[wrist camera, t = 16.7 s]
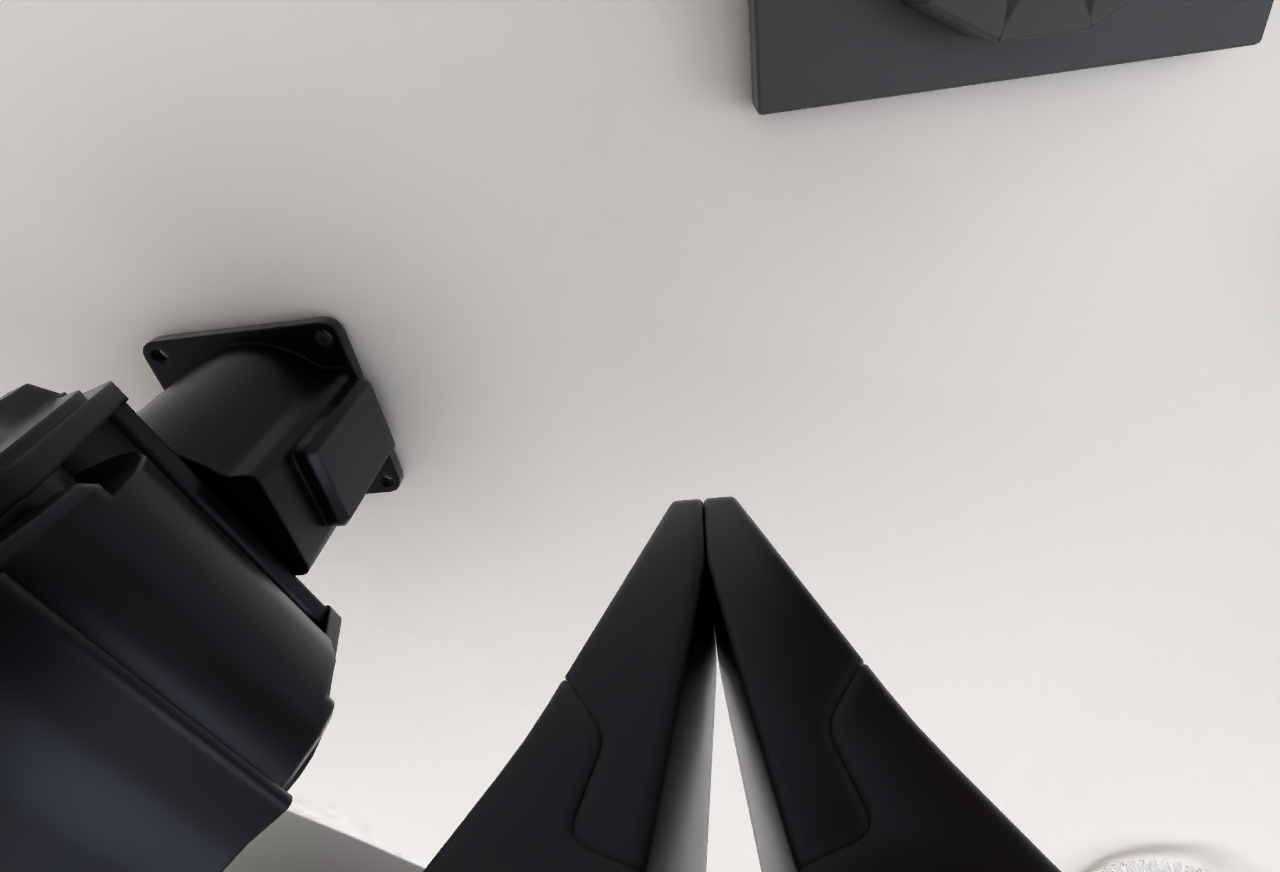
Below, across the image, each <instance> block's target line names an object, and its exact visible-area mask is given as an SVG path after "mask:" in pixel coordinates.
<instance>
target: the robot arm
mask: <svg viewBox="0 0 1280 872" xmlns="http://www.w3.org/2000/svg"><path fill="white" fill-rule="evenodd" d="M322 330H326V331H327V332H329V333H330V334H331V336H332V338H333V339H328V338H326V337H325V336H324V335H323V334H322ZM160 350H161V351H163V352H165V354H166V355H167V356H168V357H166V356H164V355H163V354H162V353H161V352H160ZM143 354H144V356H145V359H146V360H147V362H148V364H149V365H150V367H151V369H152V370H153V372H154V374H155V375H156V377H157V379H158V380H159V382H160V384H161V385H162V387H163V389H164V390H165V391H164V392H162V393H161V394H160V395H159V396H157V397H156V398H155V399H154V400H152V401H151V402H150V403H149V404H147V405H146V406H145V407H144V408H142V409H141V410H140V411H139V412H137V413H136V412H135V411H134V410H133V409H132V408H131V407H130V406H129V405H128V404H127V403H126V401H127V400H128V398H127V397H126V396H125V395H124V394H123V393H122V392H121V390H120V389H119V388H118V387H117V386H116V385H115V384H114V383H113V382H112V381H109V382H107V383H105V384H103V385H100V386H98V387H96V388H94V389H92V390H90V391H88V392H86V393H83V394H82V393H81V392H80V391H79V390H78V391H75V392H73V393H70V394H68V395H67V394H66V393H65V392H64V393H61V394H59V393H56V392H53V391H50V390H46V389H43V388H40V387H37V386H33V385H30V384H25V385H23V386H21V387H19V388H17V389H15V390H13V391H11V392H9V393H7V394H6V395H4V396H2V397H1V398H0V872H223V871H224V869H225V868H226V867H227V866H228V865H229V864H230V863H231V862H232V861H233V860H234V858H235V857H236V856H237V855H238V854H239V853H240V852H241V851H242V850H243V849H244V847H245V846H246V845H247V844H248V843H249V842H250V841H252V840H253V839H254V838H255V837H256V836H257V835H259V834H260V833H261V832H262V831H263V830H264V829H265V828H267V827H268V826H269V825H270V824H271V823H272V822H274V820H276V819H277V818H278V817H279V816H280V815H282V813H284V812H285V811H286V810H287V809H288V808H289V806H290V805H291V802H292V796H291V795H290V794H289V793H288V792H287V791H288V790H289V789H290V787H291V786H292V785H293V784H294V782H295V781H296V780H297V779H298V778H299V776H300V775H301V774H302V772H303V770H304V769H305V767H306V766H307V764H308V763H309V761H310V760H311V758H312V756H313V754H314V752H315V750H316V748H317V746H318V744H319V742H320V740H321V736H322V734H323V733H324V731H325V729H326V727H327V725H328V723H329V721H330V719H331V717H332V713H333V709H334V701H333V700H332V699H331V698H330V697H329V695H330V689H331V683H332V676H333V671H334V666H335V662H336V659H335V657H336V651H337V645H338V638H339V632H340V626H341V617H340V616H339V615H338V614H337V613H336V612H335V611H334V610H333V609H332V608H331V607H330V606H329V605H327V606H324V605H323V604H322V603H321V602H320V601H319V600H318V599H317V598H316V597H315V596H314V595H313V594H312V593H311V592H310V591H309V590H308V589H307V588H306V586H305V585H304V584H303V583H302V582H301V581H300V580H299V579H298V578H297V577H296V575H304V574H307V573H308V571H309V569H310V568H311V566H312V565H313V563H314V561H315V560H316V558H317V557H318V555H319V553H320V552H321V550H322V549H323V547H324V545H325V544H326V542H327V540H328V539H329V537H330V536H331V534H332V532H333V531H334V529H335V528H336V526H344V525H346V524H347V523H348V522H349V520H350V519H351V517H352V516H353V514H354V512H355V511H356V509H357V507H358V506H359V504H360V502H361V501H362V499H363V497H364V496H365V494H368V493H380V492H391V491H394V490H396V489H397V488H398V487H399V486H400V484H401V482H402V480H403V477H404V476H403V471H402V469H401V466H400V464H399V461H398V459H397V456H396V454H395V452H394V449H393V448H394V446H395V443H394V440H393V438H392V435H391V433H390V430H389V428H388V425H387V423H386V420H385V418H384V415H383V413H382V410H381V408H380V406H379V403H378V401H377V398H376V396H375V393H374V391H373V388H372V386H371V384H370V383H369V382H368V381H367V380H366V379H365V378H364V376H363V373H362V371H361V368H360V366H359V363H358V361H357V359H356V356H355V354H354V351H353V349H352V346H351V344H350V341H349V339H348V336H347V334H346V332H345V329H344V328H343V326H342V325H341V324H340V323H339V322H338V321H337V320H335V319H332V318H330V317H320V318H311V319H303V320H295V321H286V322H278V323H269V324H261V325H252V326H244V327H236V328H227V329H219V330H210V331H202V332H193V333H185V334H177V335H168V336H160V337H157V338H154V339H153V340H151V341H150V342H148V343H147V344H146V345H145V346H144V347H143ZM383 474H384V475H388V476H390V477H391V478H392V479H388V478H386V477H384V475H383ZM715 637H716V639H715ZM716 646H717V655H718V662H719V668H720V673H721V679H722V683H723V688H724V693H725V698H726V703H727V707H728V712H729V717H730V722H731V727H732V731H733V736H734V741H735V746H736V751H737V755H738V760H739V765H740V770H741V775H742V780H743V784H744V789H745V794H746V799H747V804H748V808H749V813H750V818H751V823H752V828H753V832H754V837H755V842H756V847H757V852H758V856H759V861H760V866H761V871H762V872H1061V871H1060V870H1059V869H1058V868H1057V867H1056V866H1055V865H1054V864H1053V863H1052V862H1051V861H1050V860H1049V859H1048V858H1047V857H1046V856H1045V855H1044V854H1043V853H1042V852H1041V851H1040V850H1039V849H1038V848H1037V847H1036V846H1035V845H1034V844H1033V843H1032V842H1031V841H1030V840H1029V839H1028V838H1027V837H1026V836H1025V835H1024V834H1023V833H1022V832H1021V831H1020V830H1019V829H1018V828H1017V827H1016V826H1015V825H1014V824H1013V823H1012V822H1011V821H1010V820H1009V819H1008V818H1007V817H1006V816H1005V815H1004V814H1003V813H1002V812H1001V811H1000V810H999V809H998V808H997V807H996V806H995V805H994V804H993V803H992V802H991V801H990V800H989V799H988V798H987V797H986V796H985V795H984V794H983V793H982V792H981V791H980V790H979V789H978V788H977V787H976V786H975V785H974V784H973V783H972V782H971V781H970V780H969V779H968V778H967V777H966V776H965V775H964V774H963V773H962V772H961V771H960V770H959V769H958V768H957V767H956V766H955V765H954V764H953V763H952V762H951V761H950V760H949V759H948V757H947V756H946V755H945V754H944V753H943V752H942V751H941V750H940V749H939V748H938V747H937V746H936V745H935V744H934V743H933V742H932V741H931V740H930V739H929V737H928V736H927V735H926V734H925V733H924V732H923V731H922V730H921V729H920V728H919V727H918V726H917V725H916V724H915V723H914V721H913V720H912V719H911V718H910V717H909V715H908V714H907V713H906V712H905V711H904V710H903V708H902V707H901V706H900V705H899V704H898V702H897V701H896V700H895V699H894V698H893V696H892V695H891V694H890V693H889V692H888V691H887V689H886V688H885V687H884V686H883V684H882V683H881V682H880V681H879V679H878V678H877V677H876V675H875V674H874V673H873V672H872V670H871V669H870V668H869V667H868V666H867V665H865V664H863V659H862V658H861V657H860V656H859V654H858V653H857V652H856V651H855V649H854V648H853V647H852V646H851V644H850V643H849V642H848V640H847V639H846V638H845V637H844V635H843V634H842V633H841V632H840V630H839V629H838V628H837V627H836V625H835V624H834V623H833V621H832V620H831V619H830V618H829V616H828V615H827V614H826V613H825V611H824V610H823V609H822V608H821V606H820V605H819V604H818V602H817V601H816V600H815V599H814V597H813V596H812V595H811V594H810V592H809V591H808V590H807V589H806V587H805V586H804V585H803V584H802V582H801V581H800V580H799V578H798V577H797V576H796V575H795V573H794V572H793V571H792V570H791V568H790V567H789V566H788V565H787V563H786V562H785V561H784V559H783V558H782V557H781V556H780V554H779V553H778V552H777V551H776V549H775V548H774V547H773V546H772V544H771V543H770V542H769V540H768V539H767V538H766V537H765V535H764V534H763V533H762V532H761V530H760V529H759V528H758V527H757V525H756V524H755V523H754V521H753V520H752V519H751V518H750V516H749V515H748V514H747V513H746V511H745V510H744V509H743V508H742V506H741V505H740V504H739V502H738V501H737V500H736V499H735V498H733V497H719V498H708V499H706V500H705V502H704V505H703V502H702V501H701V500H699V499H694V500H682V501H675V502H673V503H672V504H671V505H670V507H669V509H668V510H667V512H666V513H665V515H664V517H663V518H662V520H661V522H660V523H659V525H658V526H657V528H656V530H655V531H654V533H653V535H652V536H651V538H650V539H649V541H648V543H647V544H646V546H645V548H644V549H643V551H642V552H641V554H640V556H639V557H638V559H637V561H636V562H635V564H634V566H633V567H632V569H631V570H630V572H629V574H628V575H627V577H626V579H625V580H624V582H623V583H622V585H621V587H620V588H619V590H618V592H617V593H616V595H615V596H614V598H613V600H612V601H611V603H610V605H609V606H608V608H607V609H606V611H605V613H604V614H603V616H602V618H601V619H600V621H599V623H598V624H597V626H596V627H595V629H594V631H593V632H592V634H591V636H590V637H589V639H588V640H587V642H586V644H585V645H584V647H583V649H582V650H581V652H580V653H579V655H578V657H577V658H576V660H575V662H574V663H573V665H572V667H571V668H570V670H569V671H568V673H567V675H566V677H565V678H566V681H562V682H561V684H560V685H559V687H558V689H557V690H556V692H555V694H554V695H553V697H552V699H551V700H550V702H549V704H548V705H547V707H546V708H545V710H544V711H543V713H542V714H541V716H540V717H539V719H538V720H537V722H536V723H535V725H534V727H533V728H532V730H531V731H530V733H529V734H528V736H527V737H526V739H525V740H524V742H523V743H522V744H521V746H520V747H519V748H518V750H517V751H516V752H515V754H514V755H513V756H512V758H511V759H510V760H509V762H508V763H507V764H506V766H505V767H504V768H503V770H502V771H501V772H500V774H499V775H498V776H497V778H496V779H495V780H494V782H493V783H492V784H491V786H490V787H489V788H488V789H487V791H486V792H485V793H484V795H483V796H482V797H481V798H480V800H479V801H478V802H477V803H476V805H475V806H474V807H473V809H472V810H471V811H470V812H469V814H468V815H467V816H466V818H465V819H464V820H463V821H462V823H461V824H460V825H459V826H458V828H457V829H456V830H455V832H454V833H453V834H452V835H451V837H450V838H449V839H448V841H447V842H446V843H445V844H444V846H443V847H442V848H441V849H440V851H439V852H438V853H437V855H436V856H435V857H434V858H433V860H432V861H431V862H430V864H429V865H428V866H427V867H426V869H425V870H424V871H423V872H706V862H707V843H708V824H709V805H710V785H711V766H712V747H713V728H714V709H715V689H716V660H717V659H716Z"/></svg>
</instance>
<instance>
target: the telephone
mask: <svg viewBox="0 0 1280 872" xmlns="http://www.w3.org/2000/svg"><path fill="white" fill-rule="evenodd" d="M1121 866H1123V867H1124V868H1125V870H1126V871H1127V872H1133V869H1132V866H1133V867H1134V868H1135V870H1136V871H1137V872H1145V871H1144V868H1145V870H1146V872H1161V871H1160V869H1159V866H1158V864H1157V862H1156V861H1154V860H1151V861H1150V868H1149V866H1148V864H1147V863H1146V862H1145V861H1144V860H1139V861H1138V865H1137V864H1136V863H1135V862H1134V861H1128V862H1127V864H1125V863H1124V862H1118V863H1117V864H1116V865H1115V864H1110V865H1107V866H1106V867H1101V868H1099V869H1098V870H1095V871H1094V872H1104V871H1102V870H1105V872H1114V871H1113V870H1112V869H1111V867H1113V868H1115V870H1116V872H1123V871H1122V869H1121ZM1162 869H1163V872H1170V868H1169V864H1168V862H1167V861H1162ZM1174 869H1175V872H1182V868H1181V864H1180V863H1174ZM1185 872H1195V871H1194V868H1193V867H1192V866H1189V865H1186V867H1185ZM1196 872H1206V871H1205V870H1202V869H1197V871H1196Z"/></svg>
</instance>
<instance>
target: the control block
mask: <svg viewBox="0 0 1280 872" xmlns="http://www.w3.org/2000/svg"><path fill="white" fill-rule="evenodd" d="M1273 1H1274V0H748V5H749V29H750V52H751V76H752V99H753V105H754V107H755V109H756V110H757V112H758V113H759V114H761V115H765V114H772V113H779V112H786V111H793V110H800V109H807V108H814V107H821V106H828V105H835V104H842V103H849V102H856V101H863V100H870V99H877V98H884V97H891V96H898V95H905V94H912V93H919V92H926V91H933V90H940V89H947V88H954V87H961V86H968V85H975V84H982V83H989V82H996V81H1003V80H1010V79H1017V78H1024V77H1031V76H1039V75H1046V74H1053V73H1060V72H1067V71H1074V70H1081V69H1088V68H1095V67H1102V66H1109V65H1116V64H1123V63H1130V62H1137V61H1144V60H1151V59H1158V58H1165V57H1172V56H1179V55H1186V54H1193V53H1200V52H1207V51H1214V50H1221V49H1228V48H1235V47H1242V46H1249V45H1255V44H1257V43H1259V42H1260V41H1261V39H1262V36H1263V33H1264V29H1265V26H1266V23H1267V20H1268V17H1269V14H1270V10H1271V7H1272V4H1273Z"/></svg>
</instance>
